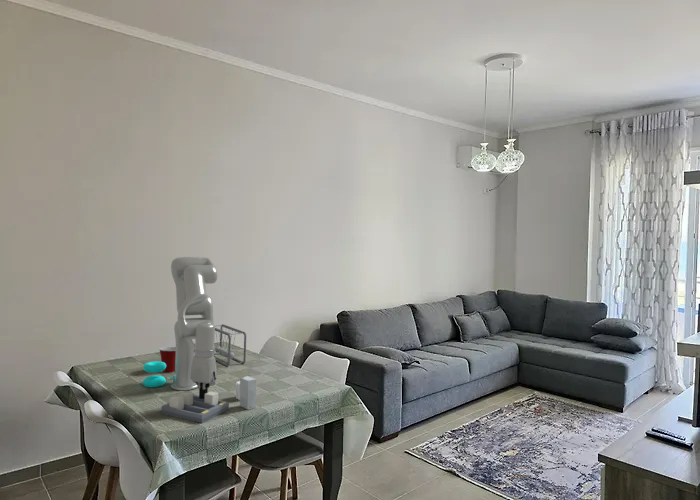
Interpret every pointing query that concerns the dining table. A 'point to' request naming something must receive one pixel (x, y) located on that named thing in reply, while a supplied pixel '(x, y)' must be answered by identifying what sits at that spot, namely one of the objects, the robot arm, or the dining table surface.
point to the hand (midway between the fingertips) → (203, 397)
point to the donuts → (156, 379)
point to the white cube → (177, 402)
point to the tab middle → (187, 398)
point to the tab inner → (211, 398)
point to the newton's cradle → (228, 352)
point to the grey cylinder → (238, 390)
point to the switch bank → (197, 410)
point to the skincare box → (248, 392)
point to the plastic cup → (168, 358)
